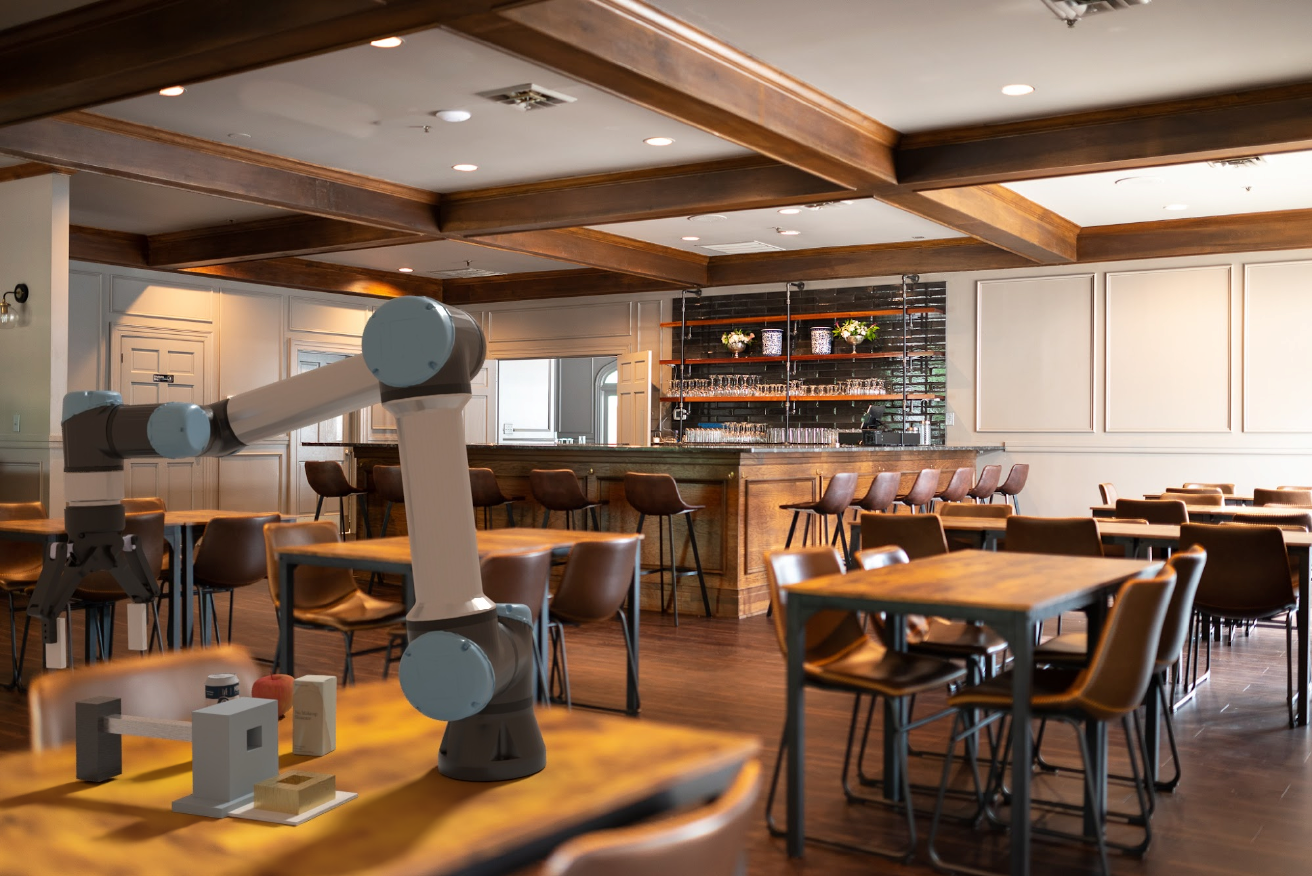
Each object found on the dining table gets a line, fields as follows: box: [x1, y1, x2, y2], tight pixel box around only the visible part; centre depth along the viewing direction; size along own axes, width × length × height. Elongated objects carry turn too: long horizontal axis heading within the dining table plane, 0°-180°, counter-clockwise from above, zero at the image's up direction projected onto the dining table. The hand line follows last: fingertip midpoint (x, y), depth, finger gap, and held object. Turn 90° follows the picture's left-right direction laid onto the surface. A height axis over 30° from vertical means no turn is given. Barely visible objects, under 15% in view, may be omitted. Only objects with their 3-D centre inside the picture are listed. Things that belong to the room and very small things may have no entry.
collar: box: [254, 769, 337, 815], centre depth 147 cm, size 3×7×7 cm
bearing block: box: [171, 696, 280, 819], centre depth 150 cm, size 8×14×12 cm, turn 158°
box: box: [291, 674, 338, 757], centre depth 173 cm, size 5×4×11 cm
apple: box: [250, 670, 296, 718], centre depth 195 cm, size 7×7×8 cm
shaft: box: [74, 695, 192, 783], centre depth 156 cm, size 24×4×10 cm, turn 68°
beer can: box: [204, 672, 240, 708], centre depth 170 cm, size 5×5×12 cm
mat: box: [227, 790, 359, 826], centre depth 147 cm, size 11×12×1 cm
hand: (98, 658), depth 159 cm, fingers open, 13 cm apart
